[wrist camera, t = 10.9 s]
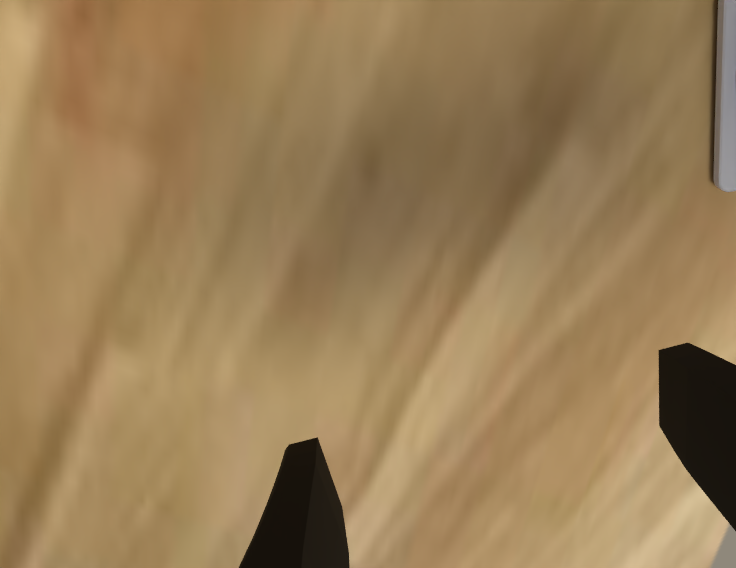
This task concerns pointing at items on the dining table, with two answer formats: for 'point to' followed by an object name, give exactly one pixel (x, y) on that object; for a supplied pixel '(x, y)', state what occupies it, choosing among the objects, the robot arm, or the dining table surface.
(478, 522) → the dining table surface
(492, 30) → the dining table surface
